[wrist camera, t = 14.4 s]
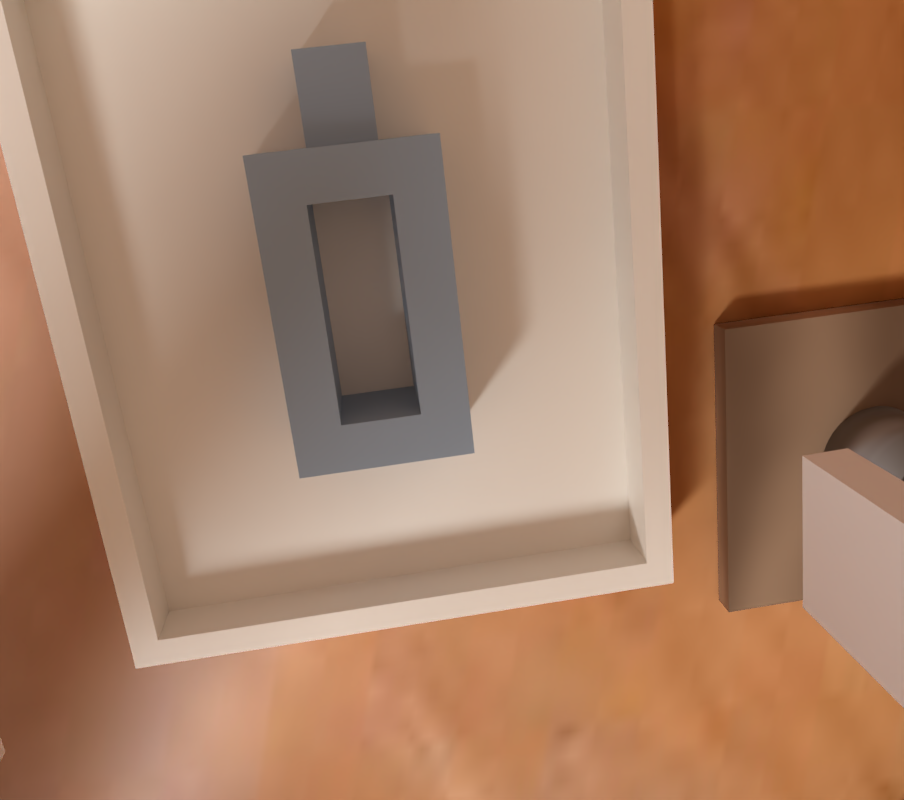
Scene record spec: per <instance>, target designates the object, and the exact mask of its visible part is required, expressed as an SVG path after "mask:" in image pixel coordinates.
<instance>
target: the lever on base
mask: <svg viewBox="0 0 904 800" xmlns="http://www.w3.org/2000/svg"><path fill="white" fill-rule="evenodd" d="M714 351H715V407H716V462H717V518H718V574H719V600H720V602H721V603H722V604H723V605H724V607H725V608H726V609H727V610H728V612H733V611H739V610H745V609H751V608H757V607H763V606H770V605H776V604H782V603H788V602H794V601H800V600H803V504H802V456H804V455H810V454H816V453H822V452H828V451H834V450H840V449H846V448H848V449H850V450H852V451H853V452H855V453H857V454H858V455H860V456H862V457H863V458H865V459H867V460H868V461H870V462H872V463H873V464H875V465H877V466H879V467H880V468H882V469H884V470H885V471H887V472H889V473H890V474H892V475H894V476H895V477H897V478H899V479H900V480H902V481H904V298H902V299H895V300H887V301H880V302H873V303H865V304H858V305H851V306H843V307H836V308H829V309H821V310H814V311H807V312H799V313H792V314H785V315H777V316H770V317H763V318H755V319H748V320H741V321H733V322H726V323H719V324H714Z"/></svg>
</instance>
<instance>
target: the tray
mask: <svg viewBox="0 0 904 800" xmlns="http://www.w3.org/2000/svg"><path fill="white" fill-rule="evenodd" d="M357 42H366V50H367V58H368V65H369V73H370V81H371V88H372V96H373V104H374V111H375V119H376V127H377V134H378V140H380V139H388V138H397V137H405V136H414V135H423V134H433V133H440V140H441V149H442V158H443V167H444V176H445V185H446V195H447V204H448V213H449V222H450V231H451V240H452V250H453V259H454V268H455V277H456V286H457V295H458V305H459V314H460V323H461V332H462V341H463V350H464V360H465V369H466V378H467V387H468V396H469V405H470V415H471V424H472V433H473V442H474V451H475V453H472V454H465V455H458V456H452V457H445V458H438V459H431V460H424V461H417V462H410V463H403V464H396V465H389V466H383V467H376V468H369V469H362V470H355V471H348V472H341V473H334V474H327V475H321V476H314V477H307V478H299V472H298V467H297V461H296V455H295V450H294V444H293V438H292V433H291V427H290V421H289V416H288V410H287V404H286V399H285V393H284V387H283V382H282V376H281V370H280V365H279V359H278V353H277V348H276V342H275V336H274V331H273V325H272V319H271V314H270V308H269V302H268V297H267V291H266V285H265V280H264V274H263V268H262V263H261V257H260V252H259V246H258V240H257V235H256V229H255V223H254V218H253V212H252V206H251V201H250V195H249V189H248V184H247V178H246V172H245V167H244V161H243V156H244V155H251V154H258V153H267V152H276V151H284V150H293V149H302V148H306V144H305V138H304V131H303V125H302V118H301V112H300V105H299V99H298V92H297V86H296V80H295V73H294V67H293V60H292V54H291V49H301V48H310V47H319V46H329V45H338V44H347V43H357ZM0 144H1V148H2V152H3V155H4V159H5V163H6V167H7V171H8V175H9V179H10V183H11V186H12V190H13V194H14V198H15V202H16V206H17V210H18V214H19V218H20V221H21V225H22V229H23V233H24V237H25V241H26V245H27V249H28V252H29V256H30V260H31V264H32V268H33V272H34V276H35V280H36V283H37V287H38V291H39V295H40V299H41V303H42V307H43V311H44V315H45V318H46V322H47V326H48V330H49V334H50V338H51V342H52V346H53V349H54V353H55V357H56V361H57V365H58V369H59V373H60V377H61V381H62V384H63V388H64V392H65V396H66V400H67V404H68V408H69V412H70V415H71V419H72V423H73V427H74V431H75V435H76V439H77V443H78V446H79V450H80V454H81V458H82V462H83V466H84V470H85V474H86V478H87V481H88V485H89V489H90V493H91V497H92V501H93V505H94V509H95V512H96V516H97V520H98V524H99V528H100V532H101V536H102V540H103V544H104V547H105V551H106V555H107V559H108V563H109V567H110V571H111V575H112V578H113V582H114V586H115V590H116V594H117V598H118V602H119V606H120V609H121V613H122V617H123V621H124V625H125V629H126V633H127V637H128V641H129V644H130V648H131V652H132V656H133V660H134V664H135V668H136V669H138V668H144V667H150V666H157V665H163V664H169V663H175V662H182V661H188V660H194V659H201V658H207V657H213V656H219V655H226V654H232V653H238V652H244V651H251V650H257V649H263V648H269V647H276V646H282V645H288V644H294V643H301V642H307V641H313V640H320V639H326V638H332V637H338V636H345V635H351V634H357V633H363V632H370V631H376V630H382V629H388V628H395V627H401V626H407V625H413V624H420V623H426V622H432V621H439V620H445V619H451V618H457V617H464V616H470V615H476V614H482V613H489V612H495V611H501V610H507V609H514V608H520V607H526V606H532V605H539V604H545V603H551V602H558V601H564V600H570V599H576V598H583V597H589V596H595V595H601V594H608V593H614V592H620V591H626V590H633V589H639V588H645V587H651V586H658V585H664V584H670V583H674V577H673V549H672V521H671V493H670V465H669V437H668V409H667V381H666V353H665V325H664V297H663V269H662V241H661V213H660V185H659V157H658V129H657V101H656V73H655V45H654V18H653V0H0ZM312 206H313V212H314V219H315V225H316V232H317V238H318V245H319V251H320V257H321V264H322V270H323V277H324V283H325V289H326V296H327V302H328V309H329V315H330V322H331V328H332V334H333V341H334V347H335V354H336V360H337V367H338V373H339V379H340V386H341V392H342V396H344V395H351V394H358V393H365V392H373V391H380V390H387V389H394V388H402V387H409V386H414V385H413V377H412V369H411V362H410V354H409V346H408V338H407V331H406V323H405V315H404V307H403V300H402V292H401V284H400V276H399V268H398V261H397V253H396V245H395V237H394V230H393V222H392V214H391V206H390V199H389V195H385V196H377V197H369V198H361V199H352V200H344V201H336V202H327V203H319V204H312Z"/></svg>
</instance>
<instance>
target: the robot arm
mask: <svg viewBox="0 0 904 800" xmlns="http://www.w3.org/2000/svg"><path fill="white" fill-rule="evenodd" d="M802 504H803V608H804V609H805V610H806V611H807V612H808V613H809V614H810V615H811V616H812V617H813V618H814V619H815V620H816V621H817V622H818V623H819V624H820V625H821V626H822V627H823V628H824V629H825V630H826V631H827V632H828V633H829V634H830V635H831V636H832V637H833V638H834V639H835V640H836V641H837V642H838V643H839V644H840V645H841V646H842V647H843V648H844V649H845V650H846V651H847V652H848V653H849V654H850V655H851V656H852V657H853V658H854V659H855V660H856V661H857V662H858V663H859V664H860V665H861V666H862V667H863V668H864V669H865V670H866V671H867V672H868V673H869V674H870V675H871V676H872V677H873V678H874V679H875V680H876V681H877V682H878V683H879V684H880V685H881V686H882V687H883V688H884V689H885V690H886V691H887V692H888V693H889V694H890V695H891V696H892V697H893V698H894V699H895V700H896V701H897V702H898V703H899V704H900V705H901V706H902V707H903V708H904V481H902V480H900V479H899V478H897V477H895V476H894V475H892V474H890V473H889V472H887V471H885V470H884V469H882V468H880V467H879V466H877V465H875V464H873V463H872V462H870V461H868V460H867V459H865V458H863V457H862V456H860V455H858V454H857V453H855V452H853V451H852V450H850V449H848V448H846V449H840V450H834V451H828V452H822V453H816V454H810V455H804V456H802ZM4 754H5V749H4V746H3V743H2V740H1V737H0V761H1V759H2V757H3V756H4Z"/></svg>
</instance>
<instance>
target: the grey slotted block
mask: <svg viewBox="0 0 904 800" xmlns="http://www.w3.org/2000/svg"><path fill="white" fill-rule="evenodd" d="M291 54H292V60H293V67H294V73H295V80H296V86H297V92H298V99H299V105H300V112H301V118H302V125H303V131H304V138H305V144H306V148H302V149H293V150H284V151H276V152H267V153H258V154H251V155H244V156H243V161H244V167H245V172H246V178H247V184H248V189H249V195H250V201H251V206H252V212H253V218H254V223H255V229H256V235H257V240H258V246H259V252H260V257H261V263H262V268H263V274H264V280H265V285H266V291H267V297H268V302H269V308H270V314H271V319H272V325H273V331H274V336H275V342H276V348H277V353H278V359H279V365H280V370H281V376H282V382H283V387H284V393H285V399H286V404H287V410H288V416H289V421H290V427H291V433H292V438H293V444H294V450H295V455H296V461H297V467H298V472H299V478H307V477H314V476H321V475H327V474H334V473H341V472H348V471H355V470H362V469H369V468H376V467H383V466H389V465H396V464H403V463H410V462H417V461H424V460H431V459H438V458H445V457H452V456H458V455H465V454H472V453H475V451H474V442H473V433H472V424H471V415H470V405H469V396H468V387H467V378H466V369H465V360H464V350H463V341H462V332H461V323H460V314H459V305H458V295H457V286H456V277H455V268H454V259H453V250H452V240H451V231H450V222H449V213H448V204H447V195H446V185H445V176H444V167H443V158H442V149H441V140H440V133H433V134H423V135H414V136H405V137H397V138H388V139H380V140H378V134H377V127H376V119H375V111H374V104H373V96H372V88H371V81H370V73H369V65H368V58H367V50H366V42H357V43H347V44H338V45H329V46H319V47H310V48H301V49H291ZM385 195H389V199H390V206H391V214H392V222H393V230H394V237H395V245H396V253H397V261H398V268H399V276H400V284H401V292H402V300H403V307H404V315H405V323H406V331H407V338H408V346H409V354H410V362H411V369H412V377H413V385H414V386H409V387H402V388H394V389H387V390H380V391H373V392H365V393H358V394H351V395H344V396H342V392H341V386H340V379H339V373H338V367H337V360H336V354H335V347H334V341H333V334H332V328H331V322H330V315H329V309H328V302H327V296H326V289H325V283H324V277H323V270H322V264H321V257H320V251H319V245H318V238H317V232H316V225H315V219H314V212H313V206H312V204H319V203H327V202H336V201H344V200H352V199H361V198H369V197H377V196H385Z"/></svg>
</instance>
